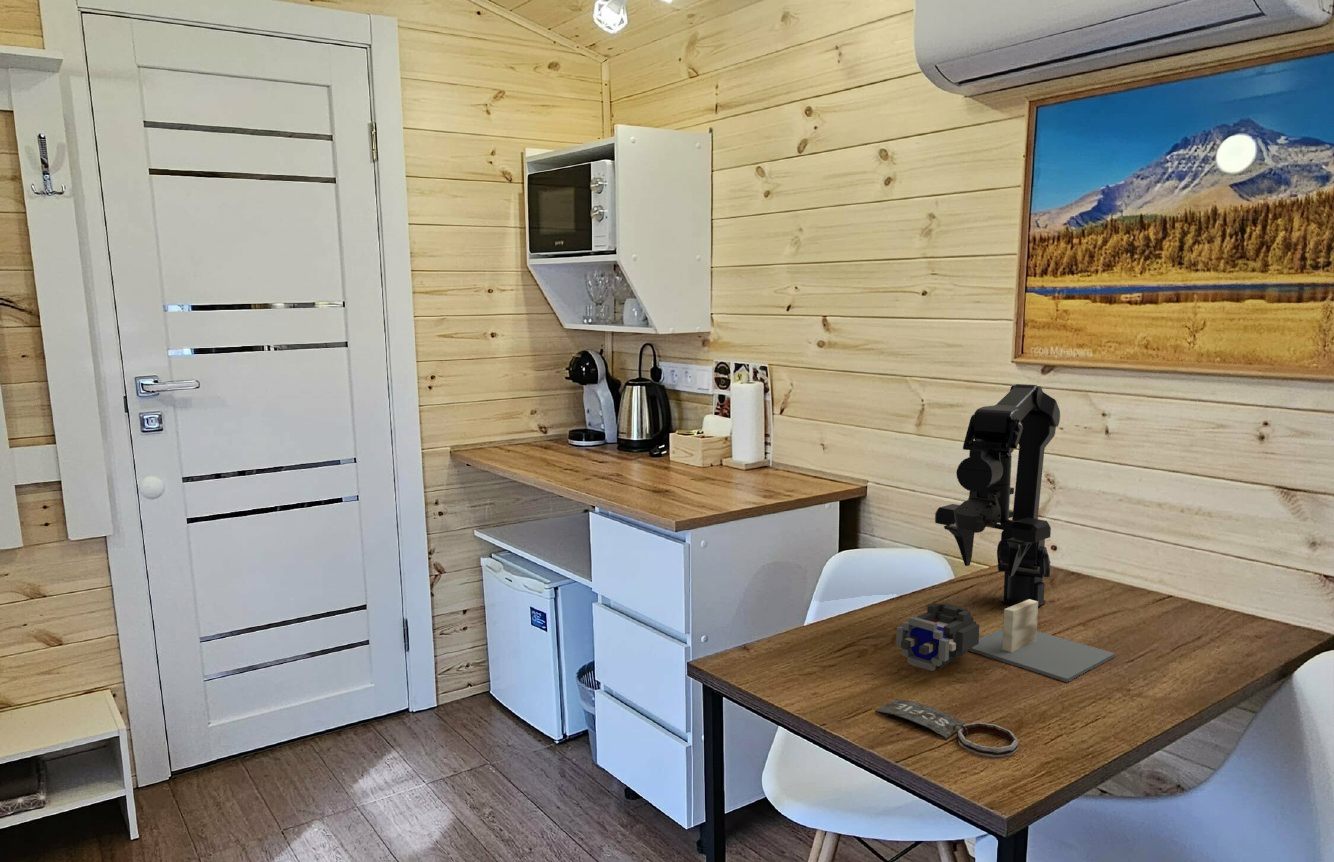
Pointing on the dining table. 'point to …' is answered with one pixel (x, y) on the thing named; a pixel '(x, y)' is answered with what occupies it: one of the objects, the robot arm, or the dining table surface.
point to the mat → (1045, 655)
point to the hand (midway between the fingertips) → (988, 570)
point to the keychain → (950, 726)
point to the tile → (1020, 625)
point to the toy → (937, 636)
